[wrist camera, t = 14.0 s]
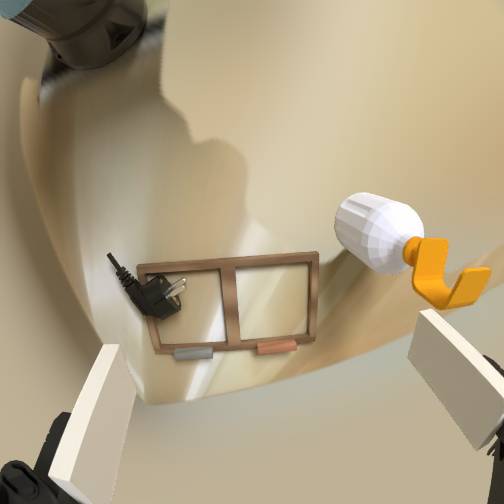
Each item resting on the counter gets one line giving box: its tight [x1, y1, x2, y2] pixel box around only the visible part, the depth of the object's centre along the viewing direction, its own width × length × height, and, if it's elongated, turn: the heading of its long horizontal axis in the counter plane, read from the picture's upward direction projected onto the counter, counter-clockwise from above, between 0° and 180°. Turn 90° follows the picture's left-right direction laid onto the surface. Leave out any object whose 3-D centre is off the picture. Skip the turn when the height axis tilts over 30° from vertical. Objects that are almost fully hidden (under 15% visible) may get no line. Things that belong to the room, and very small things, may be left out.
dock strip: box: [136, 251, 319, 360], centre depth 43 cm, size 15×26×3 cm, turn 93°
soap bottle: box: [334, 192, 491, 310], centre depth 31 cm, size 9×9×25 cm
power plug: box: [107, 253, 187, 320], centre depth 39 cm, size 6×8×12 cm
